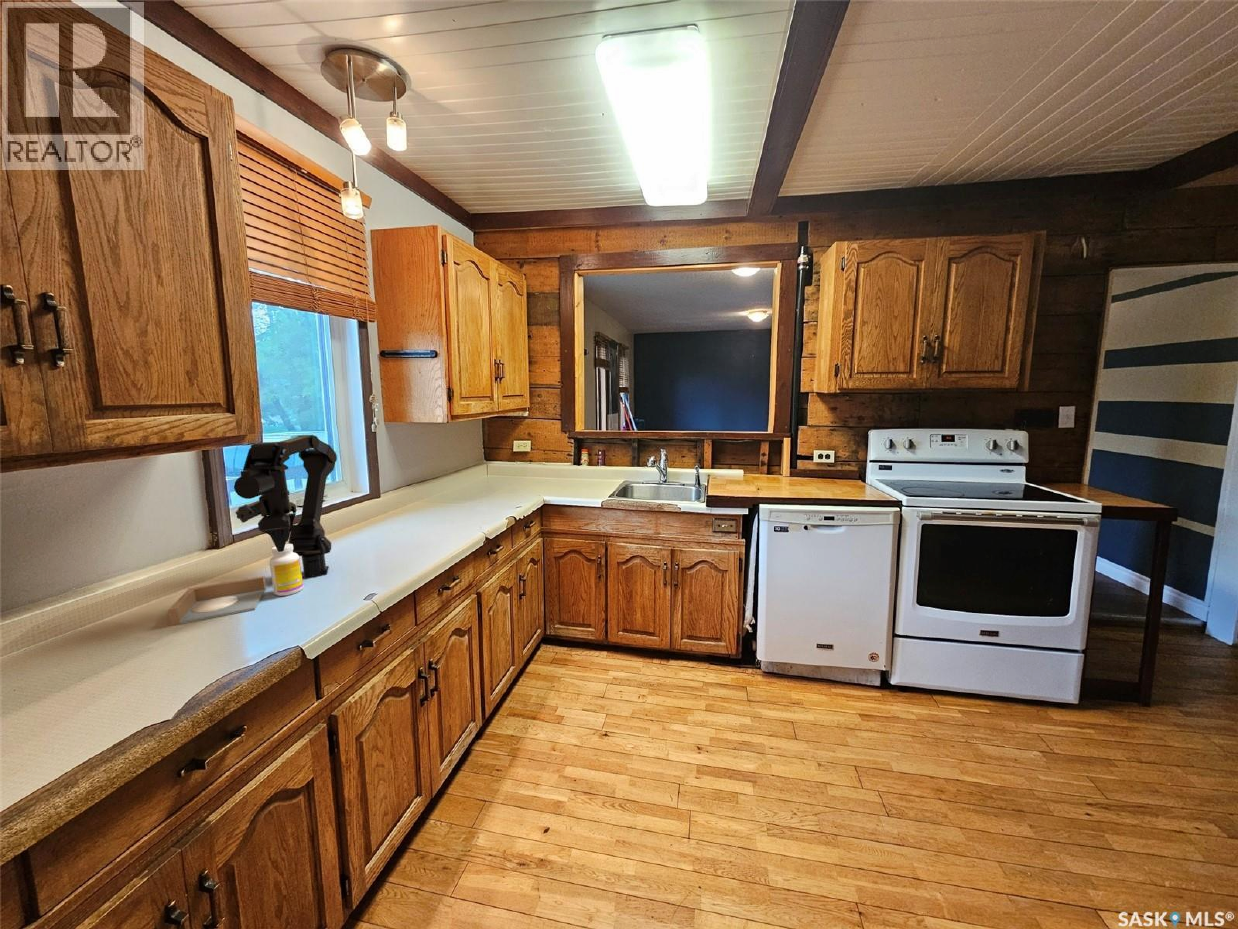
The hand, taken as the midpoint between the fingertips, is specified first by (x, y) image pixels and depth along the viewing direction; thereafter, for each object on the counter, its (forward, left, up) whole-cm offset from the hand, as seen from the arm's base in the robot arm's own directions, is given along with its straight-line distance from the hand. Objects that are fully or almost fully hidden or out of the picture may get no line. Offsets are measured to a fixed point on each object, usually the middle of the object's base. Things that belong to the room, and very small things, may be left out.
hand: (283, 546), depth 128 cm
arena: (+2, -14, -13) cm, 19 cm away
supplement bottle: (0, 0, -13) cm, 13 cm away
